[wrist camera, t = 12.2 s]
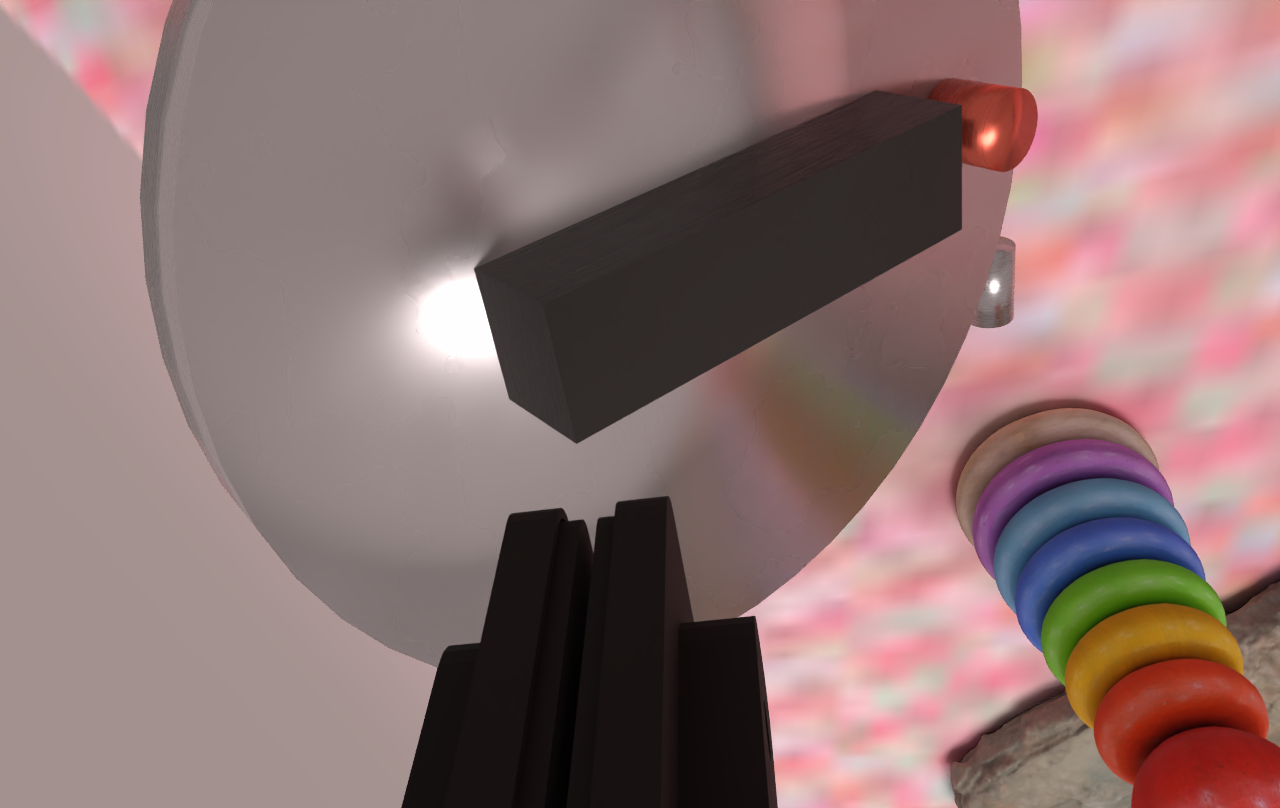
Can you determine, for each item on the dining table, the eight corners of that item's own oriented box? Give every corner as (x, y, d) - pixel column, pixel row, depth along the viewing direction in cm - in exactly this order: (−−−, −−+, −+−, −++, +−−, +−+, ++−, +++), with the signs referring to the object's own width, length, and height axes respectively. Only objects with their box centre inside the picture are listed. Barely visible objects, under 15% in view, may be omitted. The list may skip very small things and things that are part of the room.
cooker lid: (-137, -267, 11) (-104, -315, 9) (959, -422, 19) (1146, -471, 17) (365, 802, 21) (451, 931, 18) (961, 404, 29) (1081, 454, 26)
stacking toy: (1022, 581, 47) (1189, 1014, 32) (912, 474, 44) (1037, 893, 29) (1186, 484, 44) (1464, 911, 28) (1080, 362, 41) (1324, 763, 25)
